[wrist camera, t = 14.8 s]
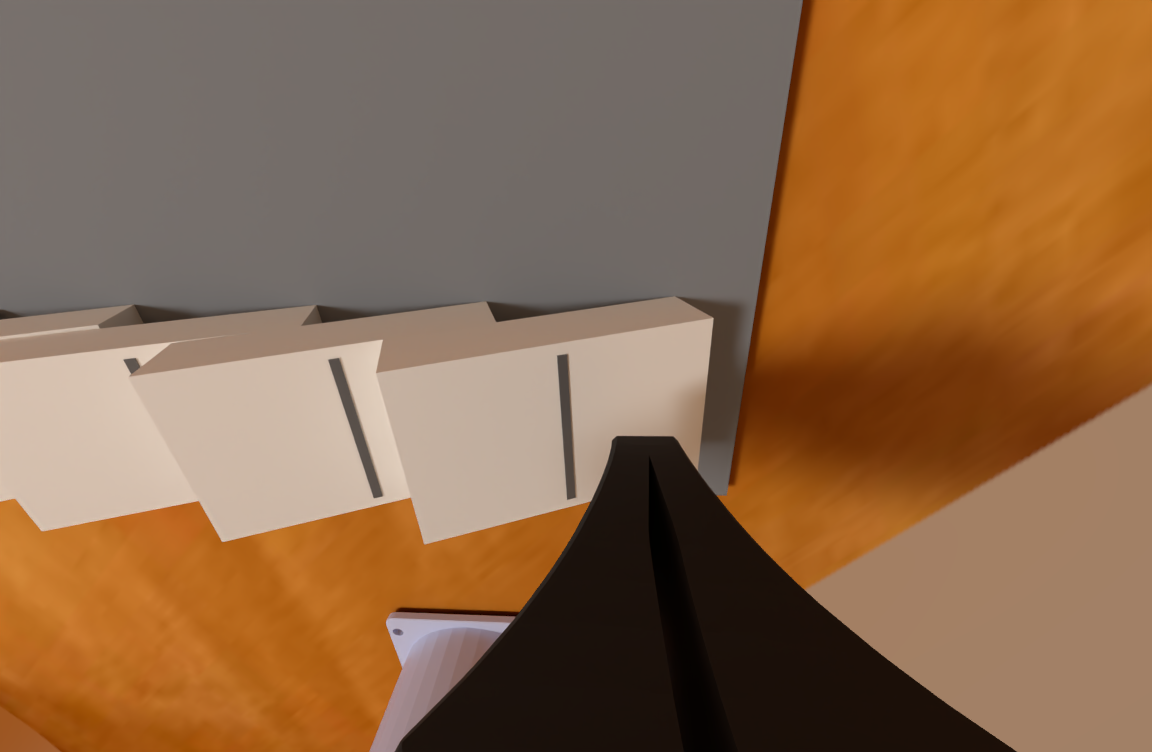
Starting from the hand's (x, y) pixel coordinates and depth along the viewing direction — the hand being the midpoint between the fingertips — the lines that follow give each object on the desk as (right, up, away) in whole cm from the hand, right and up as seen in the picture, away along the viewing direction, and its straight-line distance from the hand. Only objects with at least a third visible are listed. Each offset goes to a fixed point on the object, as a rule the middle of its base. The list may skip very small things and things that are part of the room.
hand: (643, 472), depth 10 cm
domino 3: (+2, +2, +3) cm, 4 cm away
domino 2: (-4, +2, +4) cm, 6 cm away
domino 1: (-9, +2, +4) cm, 10 cm away
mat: (-9, +5, +4) cm, 11 cm away
